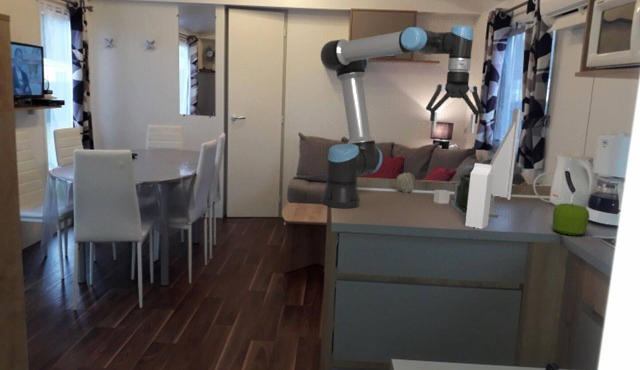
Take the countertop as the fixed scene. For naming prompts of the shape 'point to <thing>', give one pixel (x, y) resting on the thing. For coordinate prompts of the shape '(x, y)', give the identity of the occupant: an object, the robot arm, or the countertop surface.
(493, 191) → the white slanted panel
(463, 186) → the mug
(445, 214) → the countertop surface
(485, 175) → the milk
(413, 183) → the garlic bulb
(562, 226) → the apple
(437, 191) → the loose relay
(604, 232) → the countertop surface
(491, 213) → the grey storage bin
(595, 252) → the countertop surface
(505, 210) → the countertop surface
